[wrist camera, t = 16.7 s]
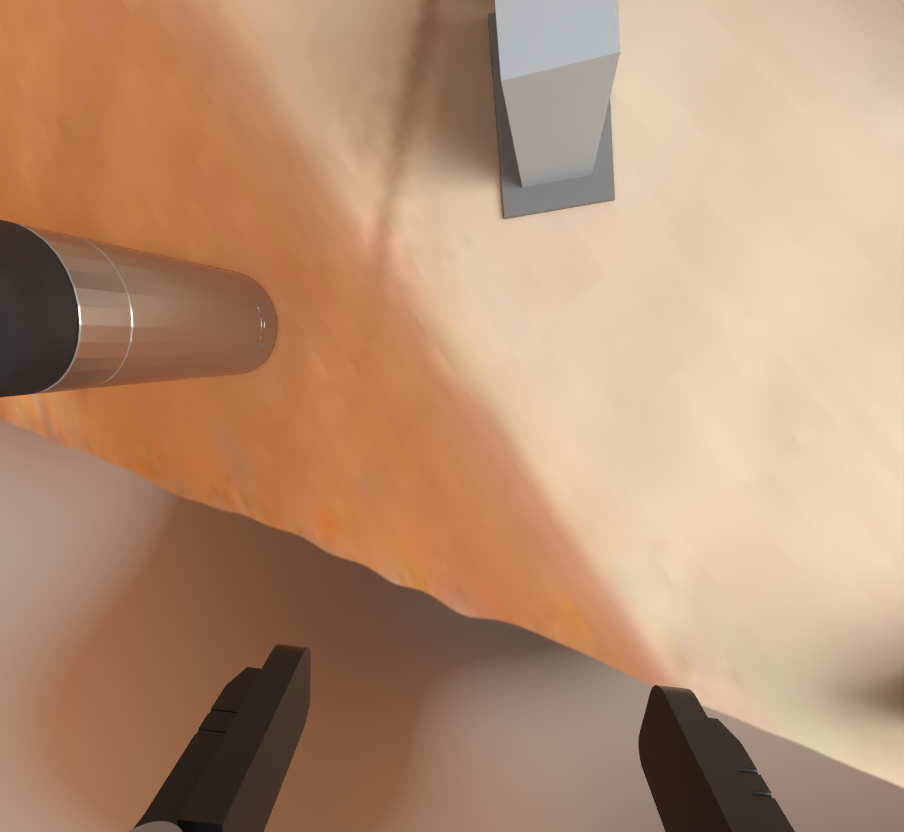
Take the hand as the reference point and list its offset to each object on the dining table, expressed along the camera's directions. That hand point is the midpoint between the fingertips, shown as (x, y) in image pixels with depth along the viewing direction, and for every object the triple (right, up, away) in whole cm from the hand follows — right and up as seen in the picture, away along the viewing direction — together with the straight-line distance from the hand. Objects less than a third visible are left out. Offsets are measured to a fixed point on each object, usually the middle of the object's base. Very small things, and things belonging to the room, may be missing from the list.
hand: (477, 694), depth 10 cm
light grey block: (+7, +29, +22) cm, 37 cm away
